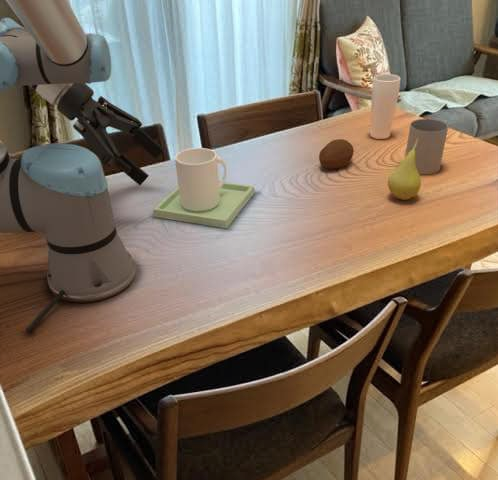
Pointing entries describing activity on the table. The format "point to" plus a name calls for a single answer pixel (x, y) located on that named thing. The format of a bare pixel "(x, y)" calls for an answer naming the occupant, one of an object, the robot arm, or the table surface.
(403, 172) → the fruit
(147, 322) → the table surface
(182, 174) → the mug
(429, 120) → the cup
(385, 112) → the drinking glass
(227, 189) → the tray
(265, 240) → the table surface
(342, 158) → the potato
